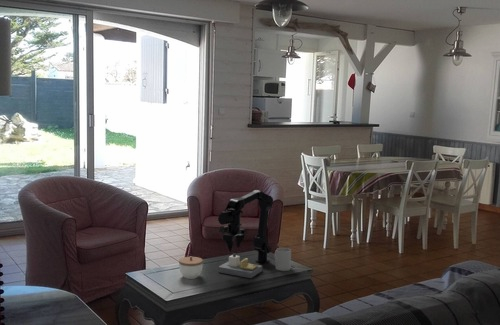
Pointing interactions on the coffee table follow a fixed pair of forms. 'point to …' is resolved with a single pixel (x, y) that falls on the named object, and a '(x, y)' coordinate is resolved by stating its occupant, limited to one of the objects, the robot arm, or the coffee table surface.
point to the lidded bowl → (190, 267)
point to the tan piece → (247, 265)
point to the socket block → (239, 270)
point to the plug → (234, 260)
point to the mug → (283, 259)
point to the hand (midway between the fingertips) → (234, 249)
